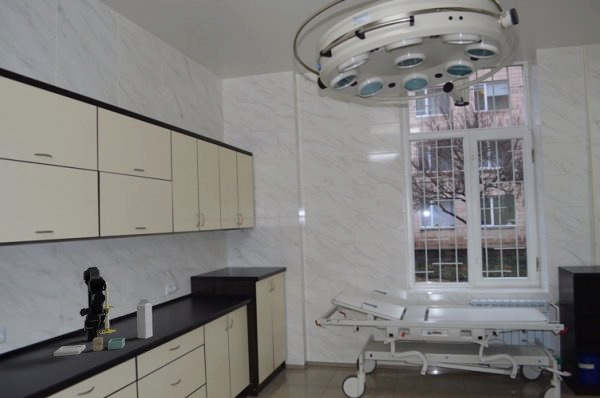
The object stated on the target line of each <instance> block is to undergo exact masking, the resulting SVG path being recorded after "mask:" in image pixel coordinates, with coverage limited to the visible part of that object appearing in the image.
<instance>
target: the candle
mask: <svg viewBox="0 0 600 398" xmlns="http://www.w3.org/2000/svg"><path fill="white" fill-rule="evenodd" d="M105 281H106V287H107V288H106V291H103V294H104V295H105V301H104V305H103V309H107V316H106V318H105V320H104V329H103V330H101V331H102V332H101V333H100V331H99V332H98V334H99V333H100V334H99V335H107V334H106V333H109V334H113V333H115V332H116V331H117V330H116V329H110V309H113V308H115V306H114V305H109V282H107V280H105ZM103 331H104V332H103ZM112 332H113V333H112Z"/></svg>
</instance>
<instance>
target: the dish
mask: <svg viewBox="0 0 600 398" xmlns="http://www.w3.org/2000/svg"><path fill="white" fill-rule="evenodd" d="M84 350H86V344H81V345H80V344H77V345H66V346H65V345H64V346H60V347H59V348H58V349H57V350H55V351H54V352H53V357H61V356H62V357H63V356H75V355H80V354H81V353H82V352H83V351H84Z"/></svg>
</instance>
